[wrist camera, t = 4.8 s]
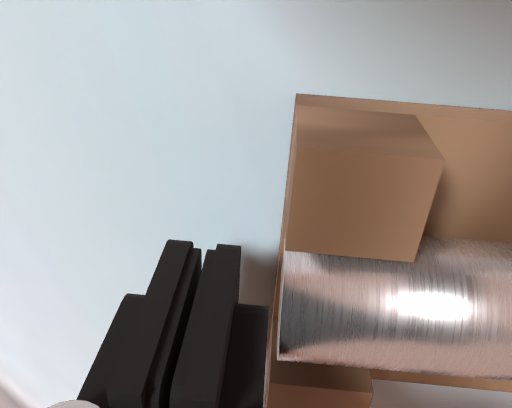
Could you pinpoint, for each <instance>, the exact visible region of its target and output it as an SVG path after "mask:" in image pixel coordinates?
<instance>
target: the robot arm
mask: <svg viewBox="0 0 512 408" xmlns="http://www.w3.org/2000/svg"><path fill="white" fill-rule="evenodd" d="M240 261H241V246H235V245H224V244H217V247H216V250H209V249H208V250H207V253H206V256H205V260H204V264H203V268H202V264H201V249H198V248H193V242H191V241H180V240H168V241H167V243H166V245H165V247H164V250H163V252H162V255H161V257H160V260H159V262H158V265H157V267H156V270H155V272H154V275H153V277H152V280H151V282H150V285H149V287H148V290H147V292H146V295H138V294H127V295H125V297H124V298H123V300H122V302H121V304H120V306H119V308H118V311H117V313H116V315H115V317H114V319H113V321H112V324H111V326H110V328H109V330H108V332H107V334H106V337H105V339H104V341H103V343H102V345H101V347H100V350H99V352H98V354H97V356H96V358H95V360H94V363H93V365H92V367H91V369H90V371H89V373H88V376H87V378H86V380H85V382H84V384H83V386H82V389H81V391H80V393H79V395H78V397H77V400H70V401H65V402H60V403H57V404H55V405H53V406H50V407H48V408H263V393H264V376H265V360H266V343H267V327H268V310H269V307H267V306H256V305H245V304H238V298H239V280H240Z"/></svg>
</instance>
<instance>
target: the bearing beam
mask: <svg viewBox="0 0 512 408" xmlns="http://www.w3.org/2000/svg"><path fill="white" fill-rule="evenodd" d="M422 236H430V237H442V238H455V239H468V240H481V241H493V242H506V243H512V111H506V110H493V109H481V108H469V107H456V106H444V105H432V104H419V103H407V102H395V101H382V100H370V99H357V98H345V97H333V96H320V95H308V94H296V99H295V108H294V118H293V127H292V136H291V145H290V155H289V164H288V173H287V182H286V191H285V201H284V210H283V219H282V228H281V238H280V247H279V256H278V265H277V274H276V284H275V293H274V302H273V311H272V321H271V330H270V339H269V349H268V365H267V382H266V399H265V408H369V406H370V403H371V400H372V396H373V388H372V383H371V379H381V380H391V381H401V382H412V383H422V384H432V385H442V386H452V387H462V388H472V389H482V390H492V391H502V392H512V381H504V380H493V379H482V378H470V377H459V376H448V375H437V374H426V373H415V372H403V371H392V370H381V369H370V368H359V367H348V366H336V365H325V364H314V363H303V362H292V361H281V360H277V329H278V311H279V296H280V282H281V269H282V258H283V247H284V238H285V251H293V252H304V253H315V254H326V255H337V256H348V257H359V258H370V259H381V260H392V261H403V262H414V260H415V257H416V253H417V250H418V247H419V244H420V240H421V237H422Z"/></svg>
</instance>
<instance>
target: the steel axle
mask: <svg viewBox="0 0 512 408" xmlns="http://www.w3.org/2000/svg"><path fill="white" fill-rule="evenodd" d="M277 360H281V361H292V362H303V363H314V364H325V365H336V366H348V367H359V368H370V369H381V370H392V371H403V372H415V373H426V374H437V375H448V376H459V377H470V378H482V379H493V380H504V381H512V243H506V242H493V241H481V240H468V239H455V238H442V237H430V236H422V237H421V240H420V244H419V247H418V250H417V253H416V257H415V260H414V262H403V261H392V260H381V259H370V258H359V257H348V256H337V255H326V254H315V253H304V252H293V251H285V238H284V247H283V258H282V269H281V282H280V296H279V311H278V329H277Z"/></svg>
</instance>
